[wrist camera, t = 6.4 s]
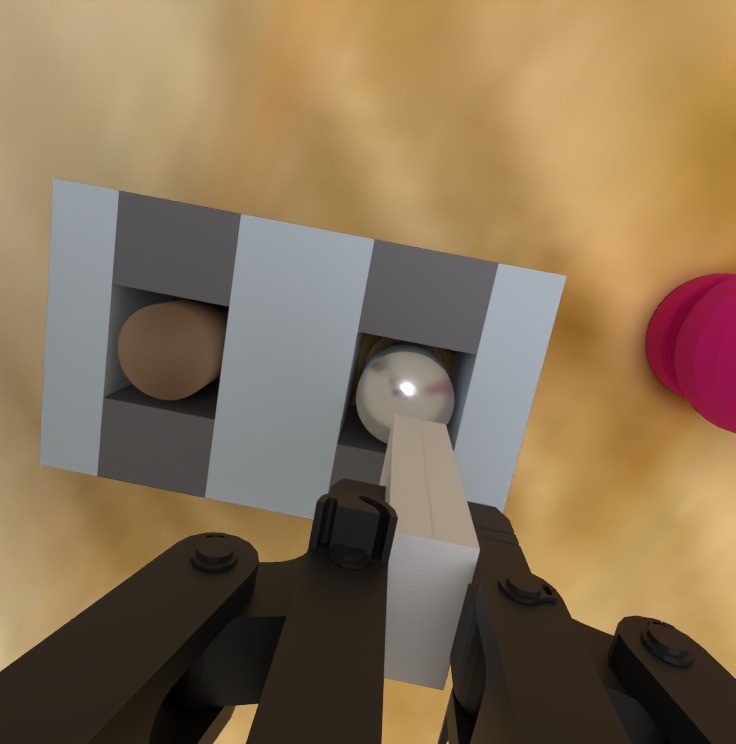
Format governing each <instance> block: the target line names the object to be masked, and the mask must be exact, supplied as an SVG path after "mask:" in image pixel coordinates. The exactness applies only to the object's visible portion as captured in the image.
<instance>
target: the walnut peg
mask: <svg viewBox="0 0 736 744" xmlns="http://www.w3.org/2000/svg"><path fill="white" fill-rule="evenodd" d="M228 313H229V306H223V305H218V304H213V303H208V302H203V301H198V300H193V299H187V298H186V299H181V300H176V301H170V302H165V303H160V304H154V305H150V306H146V307H144V308H141V309H139V310H138V311H136V312H135V313H134V314H132V315H131V316H130V317H129V318H128V320H127V321H126V322H125V324H124V325H123V327H122V329H121V332H120V335H119V339H118V357H119V361H120V364H121V367H122V369H123V371H124V373H125V375H126V376H127V378H128V379H129V380H130V381H131V383H132V384H133V385H134V386H136V387H137V388H138V389H139V390H140V391H142V392H143V393H145V394H147V395H149V396H151V397H154V398H158V399H162V400H178V399H182V398H185V397H188V396H190V395H192V394H193V393H195V392H197V391H198V390H200V389H201V388H203V387H204V386H206V385H207V384H209V383H210V382H212V381H213V380H215V379H217V378H218V377H220V376H221V368H222V360H223V352H224V345H225V337H226V329H227V321H228Z"/></svg>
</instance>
